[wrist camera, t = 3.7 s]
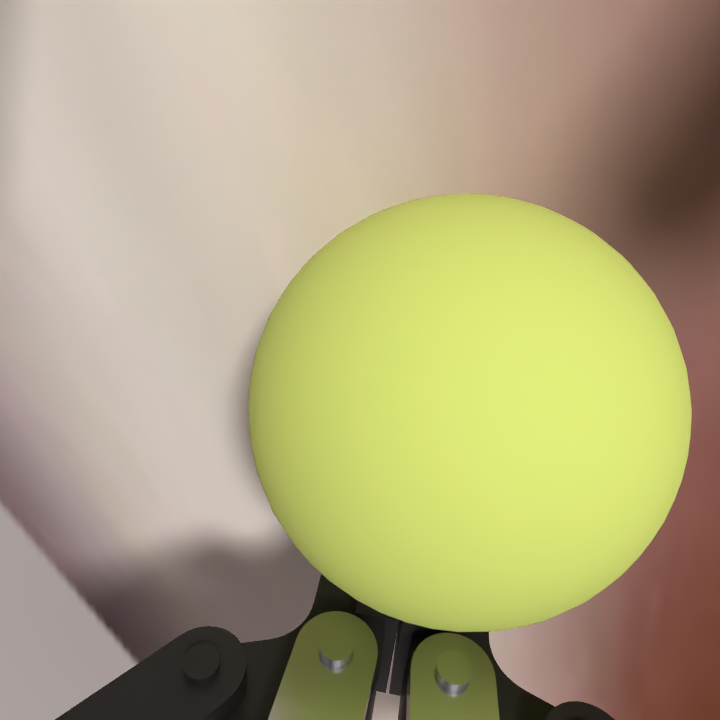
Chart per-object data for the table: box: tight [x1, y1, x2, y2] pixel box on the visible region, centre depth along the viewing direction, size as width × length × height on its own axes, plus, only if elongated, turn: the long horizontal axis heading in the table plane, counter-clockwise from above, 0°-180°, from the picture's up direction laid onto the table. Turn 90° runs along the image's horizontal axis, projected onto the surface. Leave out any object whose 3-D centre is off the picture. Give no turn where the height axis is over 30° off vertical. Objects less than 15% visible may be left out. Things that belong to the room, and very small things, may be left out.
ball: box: [248, 194, 692, 632], centre depth 9 cm, size 6×6×6 cm
